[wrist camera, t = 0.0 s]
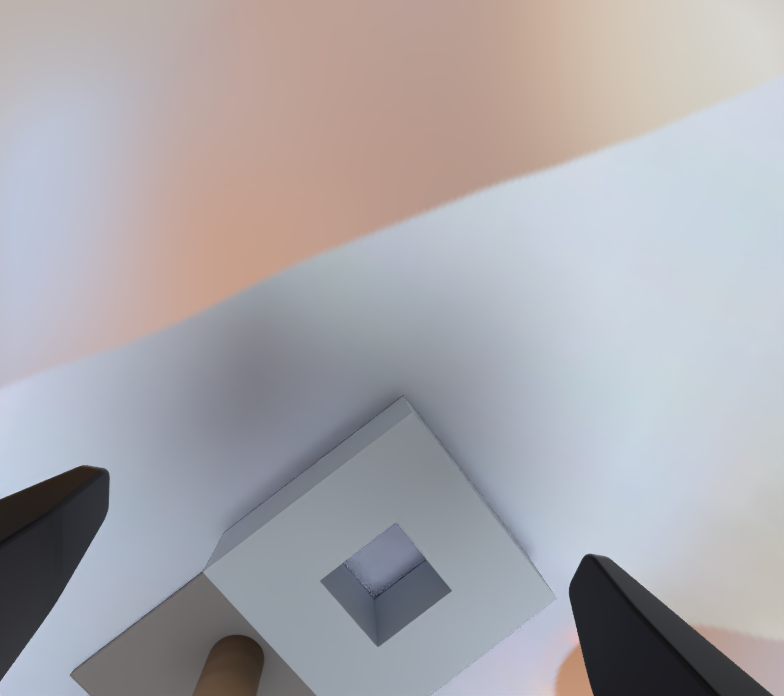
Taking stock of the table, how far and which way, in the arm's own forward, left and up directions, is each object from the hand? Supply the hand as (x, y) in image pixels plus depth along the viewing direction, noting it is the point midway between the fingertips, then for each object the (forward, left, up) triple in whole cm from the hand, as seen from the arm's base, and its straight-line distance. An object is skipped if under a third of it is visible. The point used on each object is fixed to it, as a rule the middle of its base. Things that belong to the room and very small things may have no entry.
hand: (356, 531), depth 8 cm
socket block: (-4, -8, -15) cm, 18 cm away
